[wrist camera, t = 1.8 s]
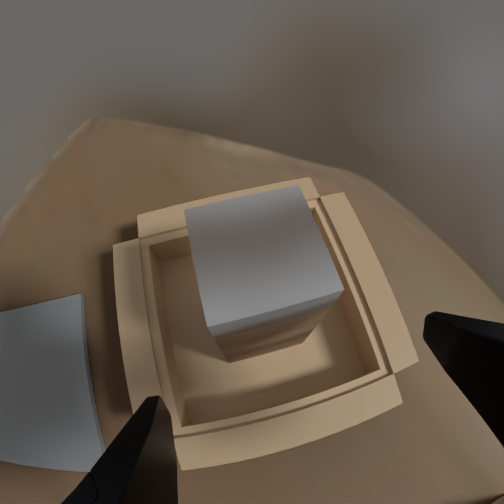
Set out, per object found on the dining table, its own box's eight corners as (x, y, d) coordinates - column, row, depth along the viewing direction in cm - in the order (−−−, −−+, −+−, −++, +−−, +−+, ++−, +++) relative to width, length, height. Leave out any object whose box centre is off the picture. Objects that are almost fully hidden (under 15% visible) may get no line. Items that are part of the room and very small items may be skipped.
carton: (403, 393, 18) (428, 389, 15) (165, 463, 16) (149, 473, 12) (324, 200, 25) (332, 173, 22) (128, 245, 23) (112, 222, 20)
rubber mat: (111, 471, 15) (108, 472, 14) (-7, 457, 13) (-11, 458, 13) (83, 295, 21) (80, 293, 21) (-19, 319, 20) (-23, 317, 19)
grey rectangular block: (302, 343, 19) (344, 289, 10) (229, 363, 19) (207, 326, 10) (280, 277, 22) (298, 184, 13) (212, 294, 21) (183, 209, 12)
